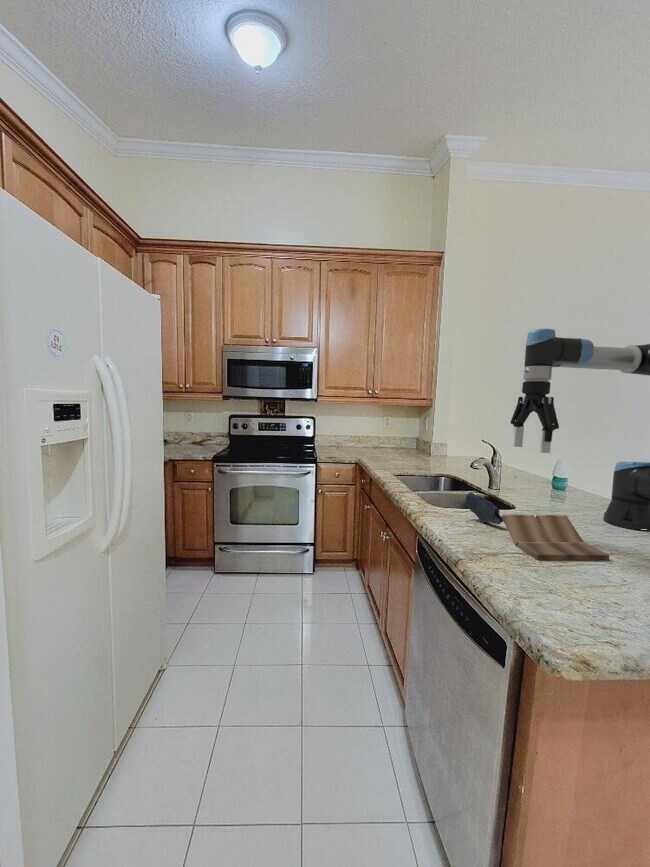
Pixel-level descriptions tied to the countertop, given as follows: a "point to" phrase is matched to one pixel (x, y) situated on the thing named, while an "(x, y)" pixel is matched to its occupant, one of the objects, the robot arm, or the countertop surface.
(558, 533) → the plank
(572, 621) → the countertop surface
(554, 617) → the countertop surface
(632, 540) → the countertop surface
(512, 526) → the plank
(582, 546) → the floor board
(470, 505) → the stone
